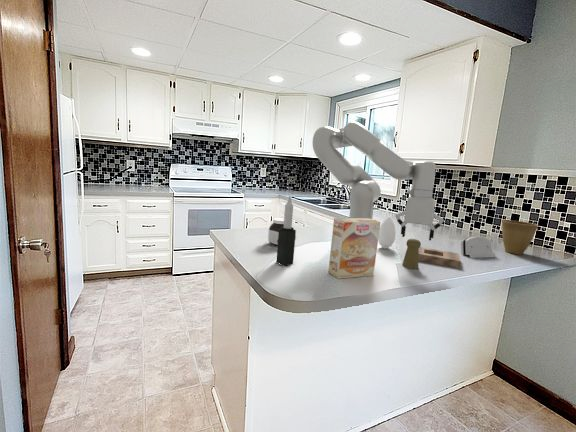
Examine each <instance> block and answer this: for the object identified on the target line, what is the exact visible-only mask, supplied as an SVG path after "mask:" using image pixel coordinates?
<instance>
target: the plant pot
mask: <svg viewBox="0 0 576 432" xmlns="http://www.w3.org/2000/svg"><path fill="white" fill-rule="evenodd" d="M538 227H539V224H536V223H531V222H527V221H520V220H511V219H502V220H501V233H502V242H503V247H504V251H505V252H506V253H508V254H514V255H523V254H524V253H525V252H526V251H527V249H528V247H529V246H530V244H531V242H532V240H533V238H534V236H535V234H536V232H537V229H538Z"/></svg>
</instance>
